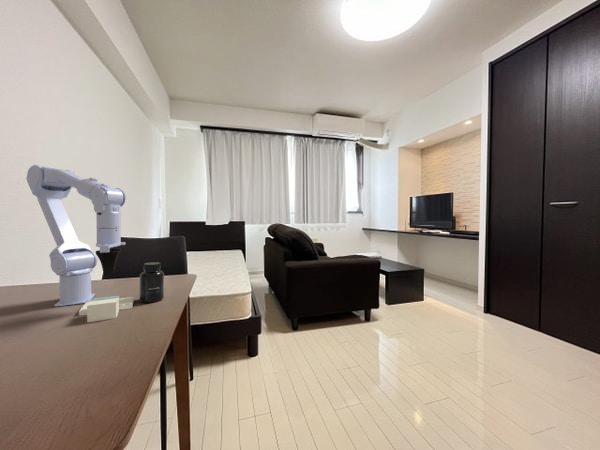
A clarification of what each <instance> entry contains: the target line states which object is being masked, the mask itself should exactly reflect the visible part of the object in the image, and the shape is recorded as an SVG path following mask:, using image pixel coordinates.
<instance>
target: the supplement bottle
mask: <svg viewBox="0 0 600 450" xmlns="http://www.w3.org/2000/svg"><path fill="white" fill-rule="evenodd" d="M161 265H162V264H161V262H157V261H156V262H155V261H153V262H145V263H143V271H142V272H141V273H140V274H139V294H138V295H139V296H138V297H139V302H140V303H143V304H150V303H151V304H152V303H153V304H154V303H157V301H158V302H160V301H162V300H163V299H164V294H165V293H164V291H165V287H164V286H165V273H164V271H162V270H161Z"/></svg>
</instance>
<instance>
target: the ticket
mask: <svg viewBox="0 0 600 450" xmlns="http://www.w3.org/2000/svg"><path fill="white" fill-rule="evenodd" d="M89 302H90V301H89ZM89 302H86V303H83V305H82V307H81V308H80V309H79V311H78V316H85V315H86V316H87V305H88V304H89ZM134 302H135V296H129V297H119V311H123V310H124V311H125V310H130V309H133V306H134Z"/></svg>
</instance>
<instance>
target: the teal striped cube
mask: <svg viewBox="0 0 600 450" xmlns="http://www.w3.org/2000/svg"><path fill="white" fill-rule="evenodd" d="M119 298H120V296H119V295H114V296H105V297H97V298H92V299H91V300H90V301H89V304H88V305H87V315H86V322H87V323H93V322H99V321H106V320H113V319H117V317H118V315H119V312H120V310H119Z"/></svg>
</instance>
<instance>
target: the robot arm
mask: <svg viewBox="0 0 600 450" xmlns="http://www.w3.org/2000/svg"><path fill="white" fill-rule="evenodd" d="M26 182H27V185H28V186H29V189H30V191H31V194H32V195H33V196H34V197H36V198H37V202H38V204H39V207H40V209H41V211H42V214H43V216H44V218H45V220H46V223H47V225H48V228H49V231H50V233H51V235H52V237H53V240H54V242H55V245H56V247H55V248H54V249H52V251H51V252H50V253H49V260H50V268H51V270H52V272H53V273H55V274H56V276H58V277H59V280H58V281H59V283H58V284H59V300H58V301H57V302H56V303H55V304H54V307H62V306H72V305H79V304H81V305H82V304H85V303H86V302H90V301H91V300H92V299H94V296H95V295H96V292H95V293H93V292H92V275H91V272H94V271H93V269H95V267H97V264H98V261H100V265H101V268H102V271H103V274H104V275H113V274H114V273H115V270H116V265H117V261H118V258H119V255H120V253H121V251H122V248H117V247H121V246H125V245H126V242H125V241H123V242H122V241H121V239H122V238H121V237H122V235H121V234H122V233H121V232H122V231H121V229H122V228H121V224H122V223H121V215H122V213H121V211H122V210H121V207H123V206H124V205H125V202H126V194H125V192H124V191H123V190H122V189H121V188H119V187H118V188H117V187H116V188H113V187H110V186H109V184H107V183H102V182H100V181H99V179H97V178H95V177H88V178H84V177H82V176H79V175H77V174H76V173H75V171H71V170H70V169H60V168H55V167H54V168H53V167H47V166H41V165H38V164H32V166H29V168H28V170H27V173H26ZM74 188H75V189H76V191H77V193H78V194H79V195H81V196H83V198H85V199H89V200H90V201H91V203H92V205H93V211H94V212H95V213H96V215H95V216H96V243H95V247H96V248H99V250H96V251H95V252H94V251H93V250H92V249H91V247H90V245H89V244H86V243H84V242H81V241H79V238H78V235H77V234H76V231H75V229H74V226H73V224H72V222H71V219H70V218H69V215H68V213H67V211H66V209H65V207H64V204H63V201H62V200H63V199H65V198H67V197H68V195H69V194H70V192H71V190H72V189H74Z"/></svg>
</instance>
